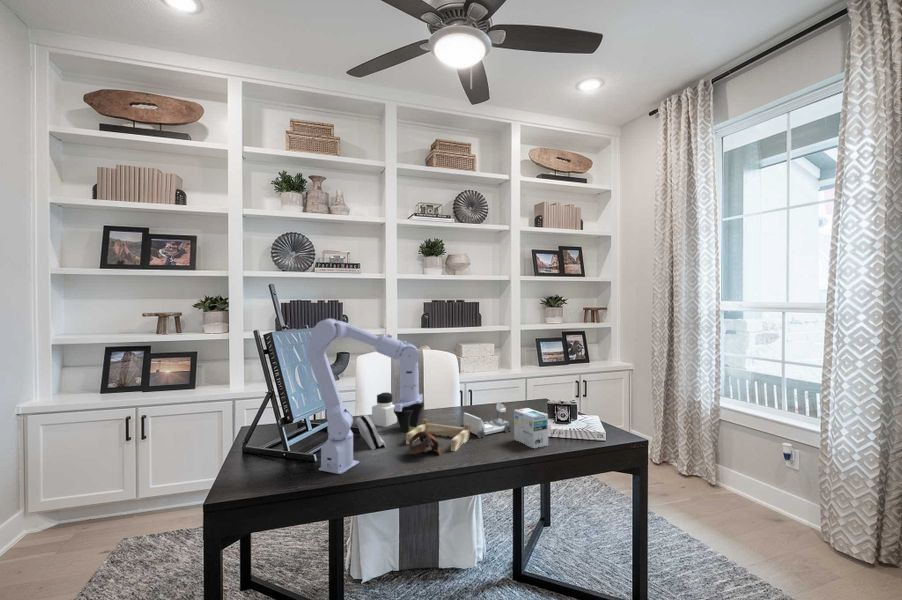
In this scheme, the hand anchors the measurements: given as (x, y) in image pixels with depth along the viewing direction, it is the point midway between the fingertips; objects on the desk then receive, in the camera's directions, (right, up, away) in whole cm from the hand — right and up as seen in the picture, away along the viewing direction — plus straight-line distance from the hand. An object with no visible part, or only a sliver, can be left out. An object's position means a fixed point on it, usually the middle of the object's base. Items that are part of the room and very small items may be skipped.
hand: (409, 429), depth 136 cm
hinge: (-16, -10, +20) cm, 27 cm away
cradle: (+8, -10, +20) cm, 24 cm away
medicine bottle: (-13, -10, +41) cm, 44 cm away
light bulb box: (+40, -10, +19) cm, 46 cm away
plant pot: (-3, -10, +34) cm, 36 cm away
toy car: (+27, -10, +33) cm, 44 cm away
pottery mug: (+4, -11, +9) cm, 14 cm away
